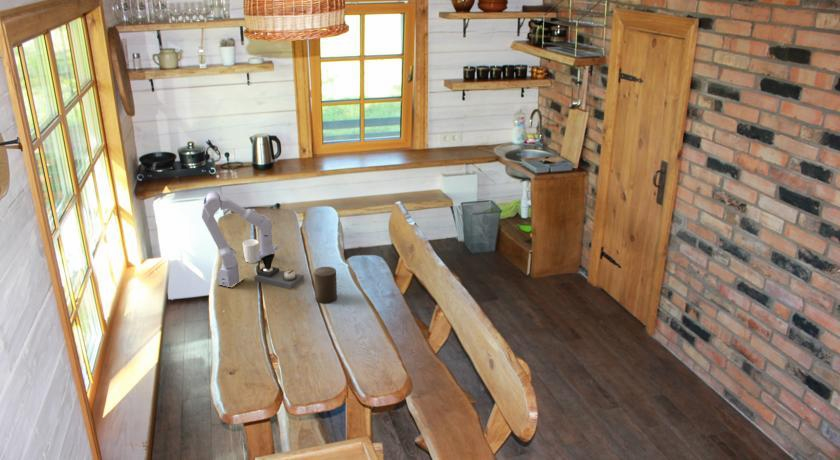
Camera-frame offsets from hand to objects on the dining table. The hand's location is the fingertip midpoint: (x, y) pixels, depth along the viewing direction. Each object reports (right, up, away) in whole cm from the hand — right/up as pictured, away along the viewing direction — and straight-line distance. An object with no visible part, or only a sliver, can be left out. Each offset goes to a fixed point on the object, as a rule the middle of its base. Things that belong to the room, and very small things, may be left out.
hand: (268, 268), depth 333 cm
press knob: (0, -2, +1) cm, 2 cm away
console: (+5, -6, 0) cm, 8 cm away
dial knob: (+11, -4, -4) cm, 12 cm away
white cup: (-12, +3, +20) cm, 24 cm away
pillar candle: (+30, -13, -16) cm, 36 cm away
